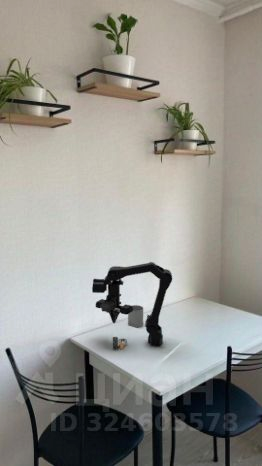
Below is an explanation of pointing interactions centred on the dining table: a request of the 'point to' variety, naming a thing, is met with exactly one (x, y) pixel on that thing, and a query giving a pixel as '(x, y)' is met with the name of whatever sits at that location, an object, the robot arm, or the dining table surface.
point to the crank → (118, 342)
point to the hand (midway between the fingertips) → (114, 322)
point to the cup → (136, 317)
